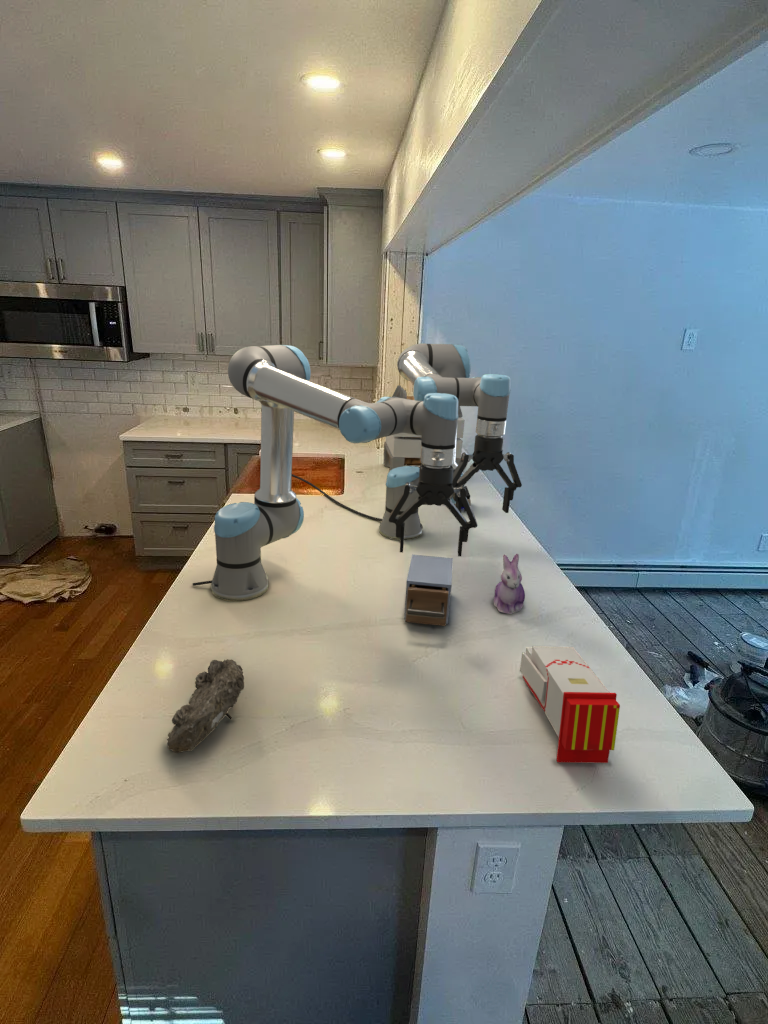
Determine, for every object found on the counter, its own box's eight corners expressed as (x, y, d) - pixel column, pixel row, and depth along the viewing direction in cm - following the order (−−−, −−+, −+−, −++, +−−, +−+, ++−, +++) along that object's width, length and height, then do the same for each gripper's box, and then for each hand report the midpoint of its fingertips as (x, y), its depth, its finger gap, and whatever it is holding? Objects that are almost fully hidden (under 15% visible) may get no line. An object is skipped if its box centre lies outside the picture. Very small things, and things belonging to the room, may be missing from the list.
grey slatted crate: (382, 463, 289) (386, 382, 275) (445, 464, 293) (451, 384, 279) (390, 482, 257) (394, 392, 243) (460, 483, 261) (468, 394, 247)
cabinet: (447, 624, 144) (451, 585, 140) (404, 619, 145) (406, 580, 141) (449, 594, 159) (452, 558, 155) (409, 590, 160) (412, 554, 157)
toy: (568, 628, 125) (630, 701, 96) (562, 684, 128) (620, 770, 99) (514, 627, 125) (559, 699, 96) (509, 683, 128) (551, 770, 98)
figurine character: (470, 516, 223) (465, 500, 237) (473, 499, 220) (467, 484, 233) (453, 516, 223) (449, 500, 236) (455, 498, 220) (451, 483, 233)
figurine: (507, 618, 147) (514, 566, 142) (483, 600, 156) (489, 550, 151) (534, 611, 152) (542, 560, 146) (510, 594, 160) (516, 545, 155)
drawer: (444, 639, 135) (447, 605, 132) (403, 635, 136) (405, 601, 133) (447, 597, 155) (450, 566, 152) (410, 593, 156) (412, 563, 153)
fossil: (192, 660, 117) (244, 628, 112) (224, 691, 120) (276, 661, 115) (142, 746, 98) (202, 712, 93) (182, 779, 101) (242, 748, 96)
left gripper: (379, 465, 123) (376, 554, 130) (495, 472, 122) (485, 562, 129) (382, 457, 130) (379, 542, 137) (491, 463, 129) (482, 549, 136)
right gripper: (448, 438, 142) (441, 517, 149) (540, 438, 147) (530, 515, 154) (440, 432, 149) (434, 508, 156) (528, 432, 154) (519, 506, 161)
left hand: (430, 552), depth 133 cm, fingers open, 13 cm apart
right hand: (481, 512), depth 155 cm, fingers open, 13 cm apart
